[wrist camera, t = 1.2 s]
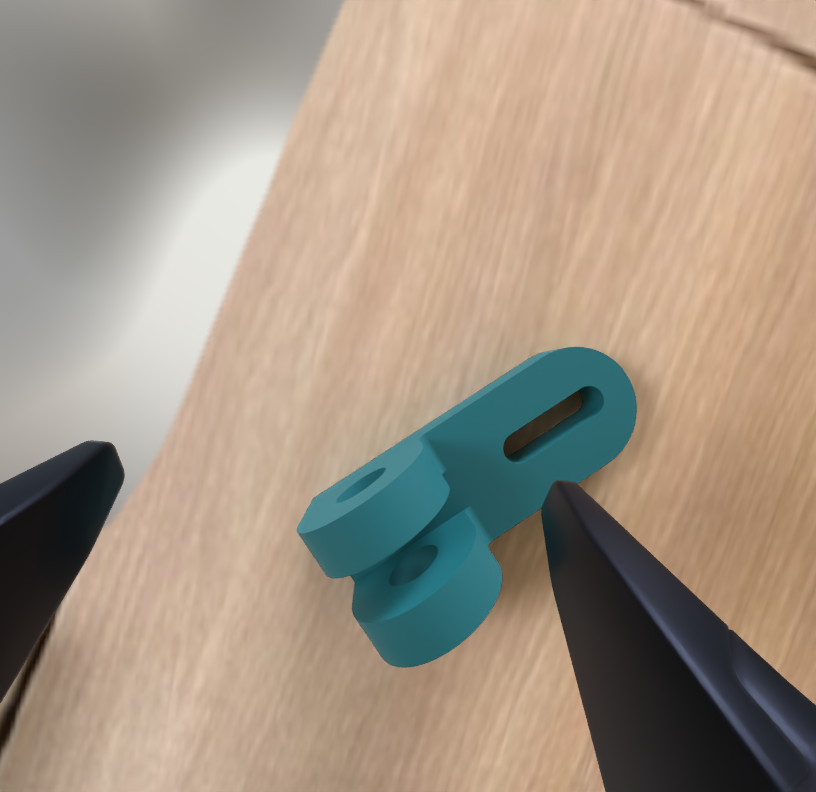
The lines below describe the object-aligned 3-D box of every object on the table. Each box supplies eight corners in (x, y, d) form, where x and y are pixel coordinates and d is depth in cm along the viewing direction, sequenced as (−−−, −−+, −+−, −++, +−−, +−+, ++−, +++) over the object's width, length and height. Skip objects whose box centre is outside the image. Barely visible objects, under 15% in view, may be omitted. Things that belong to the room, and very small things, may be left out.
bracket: (378, 595, 24) (378, 699, 16) (313, 498, 23) (281, 556, 15) (633, 425, 25) (752, 444, 17) (575, 328, 24) (671, 302, 16)
